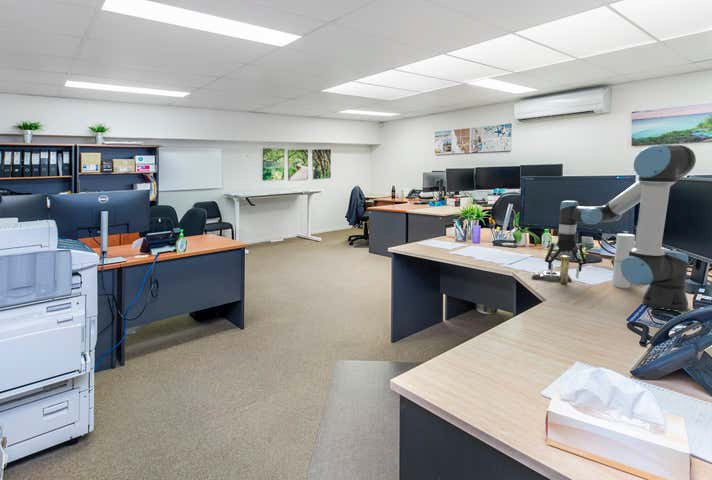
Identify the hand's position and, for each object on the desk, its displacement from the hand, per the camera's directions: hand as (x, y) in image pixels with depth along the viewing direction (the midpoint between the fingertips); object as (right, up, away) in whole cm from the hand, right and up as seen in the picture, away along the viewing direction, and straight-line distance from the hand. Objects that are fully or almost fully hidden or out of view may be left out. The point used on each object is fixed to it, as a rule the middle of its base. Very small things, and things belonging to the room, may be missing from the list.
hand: (563, 276), depth 204 cm
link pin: (0, -3, +1) cm, 3 cm away
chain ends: (-2, -2, +9) cm, 10 cm away
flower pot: (+34, -2, +8) cm, 35 cm away
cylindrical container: (+25, -4, -5) cm, 26 cm away
